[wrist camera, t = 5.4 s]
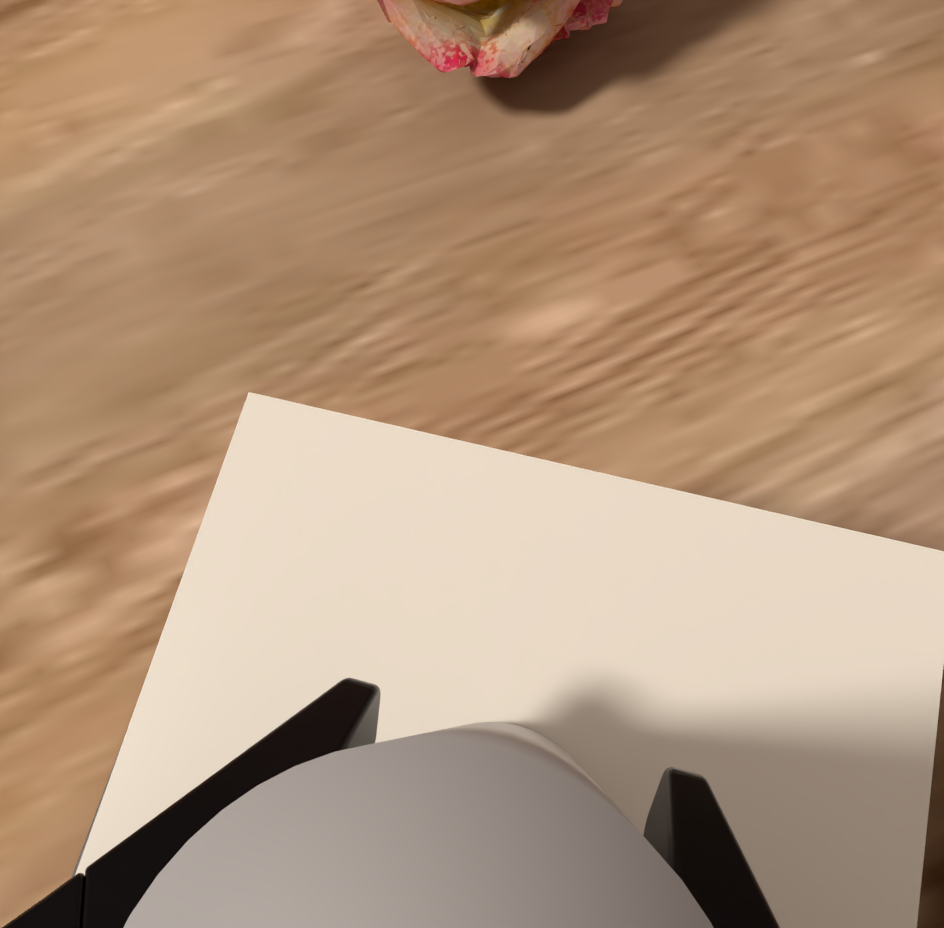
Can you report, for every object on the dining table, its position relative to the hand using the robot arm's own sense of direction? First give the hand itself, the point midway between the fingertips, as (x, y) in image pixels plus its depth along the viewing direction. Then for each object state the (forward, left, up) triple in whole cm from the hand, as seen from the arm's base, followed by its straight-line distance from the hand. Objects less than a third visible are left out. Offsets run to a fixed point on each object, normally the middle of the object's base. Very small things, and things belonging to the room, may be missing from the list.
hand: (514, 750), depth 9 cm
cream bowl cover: (-1, +1, -7) cm, 7 cm away
